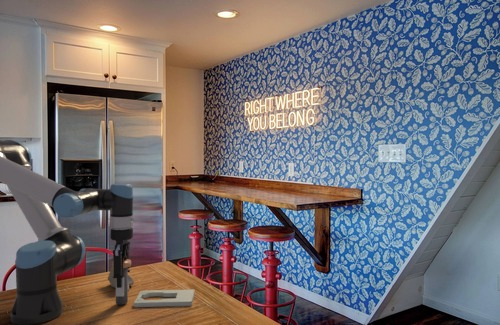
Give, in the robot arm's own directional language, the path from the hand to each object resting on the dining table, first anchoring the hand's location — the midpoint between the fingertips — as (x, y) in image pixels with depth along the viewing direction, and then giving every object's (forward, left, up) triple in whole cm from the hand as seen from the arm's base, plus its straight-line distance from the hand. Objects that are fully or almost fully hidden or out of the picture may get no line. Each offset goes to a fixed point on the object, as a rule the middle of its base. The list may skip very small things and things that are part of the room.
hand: (121, 293), depth 139 cm
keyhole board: (+15, +3, -4) cm, 16 cm away
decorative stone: (-5, +19, -4) cm, 20 cm away
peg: (0, 0, -3) cm, 3 cm away
